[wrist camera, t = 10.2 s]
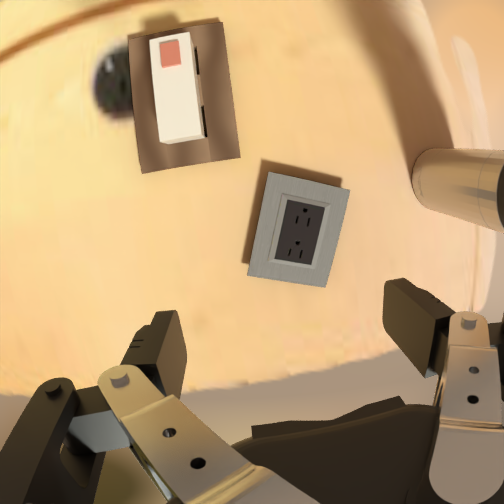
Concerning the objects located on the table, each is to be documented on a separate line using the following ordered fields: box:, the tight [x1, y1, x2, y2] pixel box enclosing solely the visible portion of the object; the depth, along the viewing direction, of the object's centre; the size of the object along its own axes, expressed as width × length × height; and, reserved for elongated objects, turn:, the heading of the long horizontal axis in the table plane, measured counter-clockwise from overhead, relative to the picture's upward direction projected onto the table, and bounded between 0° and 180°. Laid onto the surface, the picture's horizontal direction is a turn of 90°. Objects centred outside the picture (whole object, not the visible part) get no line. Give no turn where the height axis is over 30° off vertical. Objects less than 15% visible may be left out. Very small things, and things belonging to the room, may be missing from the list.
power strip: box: [149, 32, 205, 144], centre depth 32 cm, size 4×12×7 cm, turn 7°
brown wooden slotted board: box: [128, 22, 241, 174], centre depth 35 cm, size 12×18×2 cm, turn 7°
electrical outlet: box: [247, 172, 350, 288], centre depth 41 cm, size 13×10×2 cm
